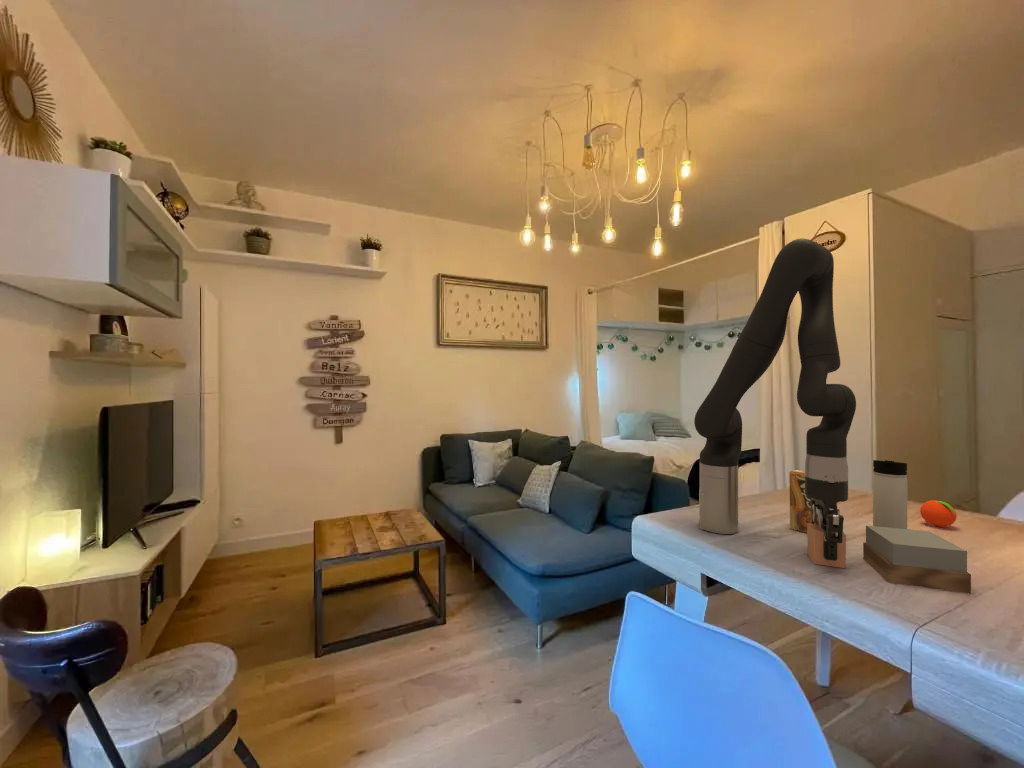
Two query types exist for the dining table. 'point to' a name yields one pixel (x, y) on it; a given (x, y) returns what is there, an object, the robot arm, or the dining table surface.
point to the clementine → (938, 513)
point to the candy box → (799, 502)
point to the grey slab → (916, 549)
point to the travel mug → (890, 494)
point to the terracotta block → (817, 547)
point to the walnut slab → (917, 574)
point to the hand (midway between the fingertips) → (825, 553)
